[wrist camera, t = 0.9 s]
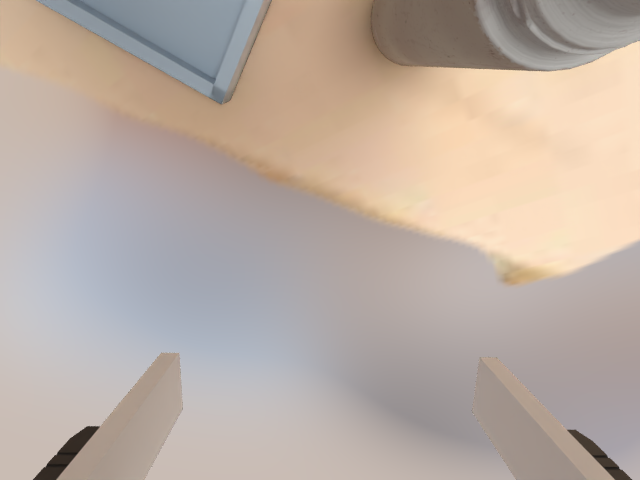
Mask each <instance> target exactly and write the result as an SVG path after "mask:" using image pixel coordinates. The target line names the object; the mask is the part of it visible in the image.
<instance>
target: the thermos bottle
mask: <svg viewBox="0 0 640 480" xmlns="http://www.w3.org/2000/svg"><path fill="white" fill-rule="evenodd" d="M371 28H372V33H373V38H374V40H375V43H376V45H377V47H378V48H379V50H380V51H381V53H382V54H383V55H384V56H385V57H386V58H387V59H389V60H391V61H392V62H394V63H397V64H399V65H405V66H423V67H449V68H475V69H500V70H526V71H556V70H565V69H571V68H574V67H578V66H581V65H584V64H587V63H590V62H593V61H595V60H597V59H599V58H600V57H602V56H604V55H606V54H608V53H610V52H612V51H614V50H616V49H619V48H622V47H625V46H627V45H629V44H631V43H634V42H637V41H640V0H375V1H374V4H373V7H372V15H371Z"/></svg>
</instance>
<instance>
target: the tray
mask: <svg viewBox="0 0 640 480" xmlns="http://www.w3.org/2000/svg"><path fill="white" fill-rule="evenodd" d="M36 1H38V2H40V3H42V4H43V5H45V6H47V7H49V8H51V9H52V10H54V11H56V12H58V13H59V14H61V15H63V16H65V17H67V18H68V19H70V20H72V21H74V22H75V23H77V24H79V25H81V26H83V27H84V28H86V29H88V30H90V31H92V32H93V33H95V34H97V35H99V36H100V37H102V38H104V39H106V40H108V41H109V42H111V43H113V44H115V45H116V46H118V47H120V48H122V49H124V50H125V51H127V52H129V53H131V54H132V55H134V56H136V57H138V58H140V59H141V60H143V61H145V62H147V63H149V64H150V65H152V66H154V67H156V68H157V69H159V70H161V71H163V72H165V73H166V74H168V75H170V76H172V77H173V78H175V79H177V80H179V81H181V82H182V83H184V84H186V85H188V86H189V87H191V88H193V89H195V90H197V91H198V92H200V93H202V94H204V95H206V96H207V97H209V98H211V99H213V100H214V101H216V102H218V103H220V104H223V103H226V102H228V101H230V100H231V97H232V95H233V92H234V90H235V88H236V85H237V83H238V80H239V78H240V75H241V73H242V71H243V68H244V66H245V63H246V61H247V59H248V56H249V54H250V51H251V49H252V47H253V44H254V42H255V39H256V37H257V34H258V32H259V30H260V27H261V25H262V22H263V20H264V18H265V15H266V13H267V10H268V8H269V5H270V3H271V1H272V0H36Z"/></svg>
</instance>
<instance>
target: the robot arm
mask: <svg viewBox="0 0 640 480" xmlns="http://www.w3.org/2000/svg"><path fill="white" fill-rule="evenodd" d="M182 410H183V402H182V387H181V372H180V357H179V353H161V354H160V355H159V356H158V357H157V359H156V360H155V361H154V362H153V363H152V365H151V366H150V367H149V368H148V370H147V371H146V372H145V373H144V374H143V376H142V377H141V378H140V379H139V380H138V382H137V383H136V384H135V385H134V386H133V388H132V389H131V390H130V391H129V392H128V394H127V395H126V396H125V397H124V398H123V400H122V401H121V402H120V403H119V404H118V406H117V407H116V408H115V410H114V411H113V412H112V413H111V414H110V415H109V417H108V418H107V419H106V420H105V421H104V423H103V424H102V425H101V426H100V427H98V426H97V427H96V426H91V427H90V426H88V427H86V428H84V429H83V430H82V431H80V432H79V433H77V434H76V435H74V436H73V437H72V438H70V439H69V440H68V441H67V443H66V444H65V445H64V446H63V447H62V448H61V449H60V450H59V452H58V453H57V455H55V456H54V457H53V458H52V459H51V460H50V461H49V463H48V464H47V466H46V467H44V468H43V469H42V470H41V472H39V474H38V475H37V476H36V477H35V478H34V479H33V480H144V479H145V478H146V476H147V474H148V472H149V470H150V468H151V467H152V465H153V463H154V461H155V459H156V457H157V455H158V454H159V452H160V450H161V448H162V446H163V444H164V443H165V441H166V439H167V437H168V435H169V433H170V432H171V430H172V428H173V426H174V424H175V422H176V421H177V419H178V417H179V415H180V413H181V411H182ZM472 413H473V414H474V416H475V417H476V419H477V420H478V422H479V423H480V425H481V426H482V428H483V429H484V431H485V432H486V434H487V436H488V437H489V439H490V440H491V442H492V443H493V445H494V446H495V448H496V449H497V451H498V453H499V454H500V456H501V457H502V459H503V460H504V462H505V463H506V464H507V466H508V468H509V469H510V471H511V472H512V474H513V476H514V477H515V479H516V480H632V479H631V478H630V477H629V476H628V475H627V474H626V473H625V472H624V471H623V470H620V469H619V467H618V466H617V464H615V463H614V462H613V461H612V460H611V459H610V458H608V457H607V455H606V454H605V453H604V452H603V451H602V450H601V449H600V448H599V447H598V446H597V445H596V444H595V443H594V442H593V441H591V440H590V439H588V438H587V437H585V436H584V435H582V434H581V433H579V432H578V431H576V430H566V429H565V428H564V427H563V426H562V425H561V423H560V422H559V421H558V420H557V419H556V418H555V417H554V416H553V415H552V414H551V413H550V412H549V411H548V410H547V409H546V408H545V407H544V406H543V405H542V404H541V403H540V402H539V401H538V400H537V399H536V398H535V397H534V396H533V395H532V394H531V393H530V391H528V389H527V388H526V387H525V386H524V385H523V384H522V383H521V382H520V381H519V380H518V379H517V378H516V377H515V376H514V375H513V374H512V373H511V372H510V371H509V370H508V369H507V368H506V367H505V366H504V365H503V364H502V363H501V362H500V360H498V358H491V357H488V358H487V357H480V358H479V366H478V372H477V380H476V387H475V395H474V401H473V408H472Z"/></svg>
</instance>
